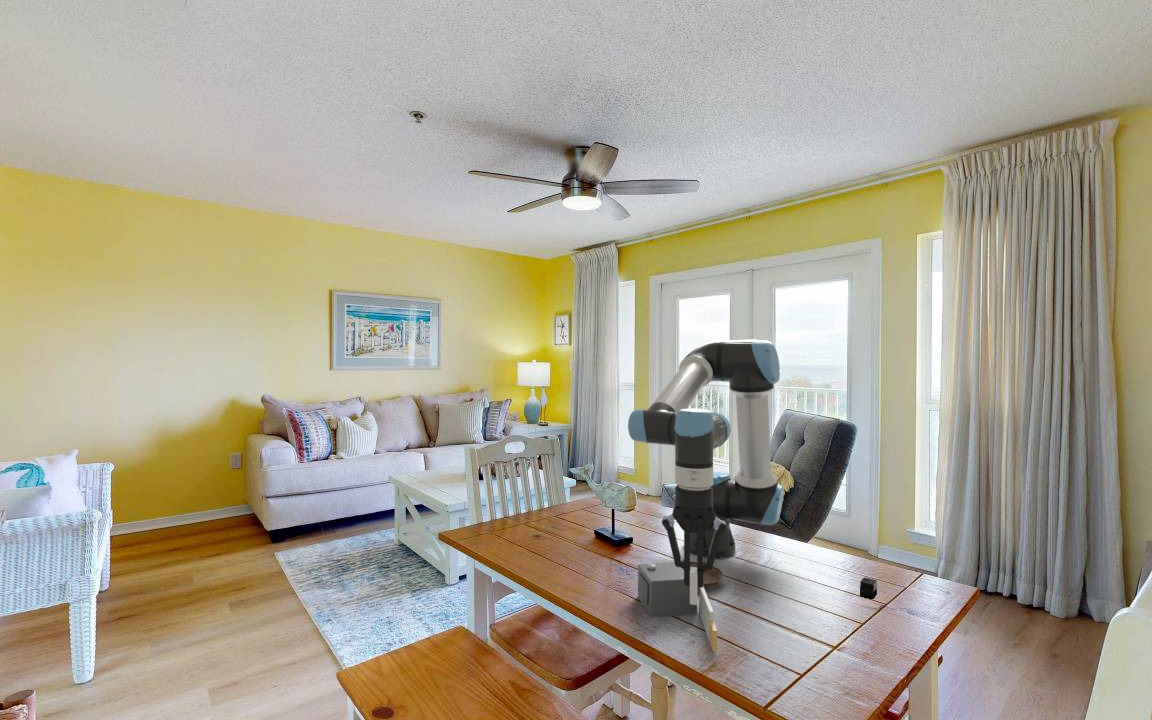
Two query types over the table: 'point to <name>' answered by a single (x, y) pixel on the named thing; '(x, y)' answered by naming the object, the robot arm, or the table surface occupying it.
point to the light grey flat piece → (707, 617)
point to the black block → (868, 588)
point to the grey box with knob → (664, 590)
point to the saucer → (710, 576)
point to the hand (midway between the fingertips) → (693, 601)
